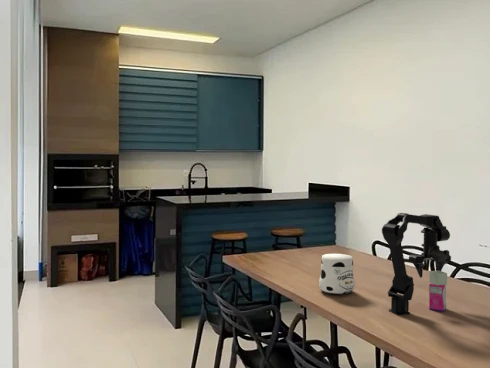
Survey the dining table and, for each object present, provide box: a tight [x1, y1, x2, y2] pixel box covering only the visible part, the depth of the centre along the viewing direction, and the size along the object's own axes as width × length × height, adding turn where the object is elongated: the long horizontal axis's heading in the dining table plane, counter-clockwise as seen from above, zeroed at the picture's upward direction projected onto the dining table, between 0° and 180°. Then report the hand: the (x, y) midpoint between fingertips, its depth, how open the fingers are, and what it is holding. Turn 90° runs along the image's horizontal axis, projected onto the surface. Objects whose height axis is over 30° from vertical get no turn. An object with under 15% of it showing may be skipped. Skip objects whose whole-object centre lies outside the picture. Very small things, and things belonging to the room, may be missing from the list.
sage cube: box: [429, 270, 448, 286], centre depth 203 cm, size 5×5×5 cm
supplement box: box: [428, 283, 447, 313], centre depth 203 cm, size 6×6×12 cm
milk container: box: [318, 253, 356, 296], centre depth 228 cm, size 17×17×18 cm
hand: (429, 276), depth 208 cm, fingers open, 9 cm apart
